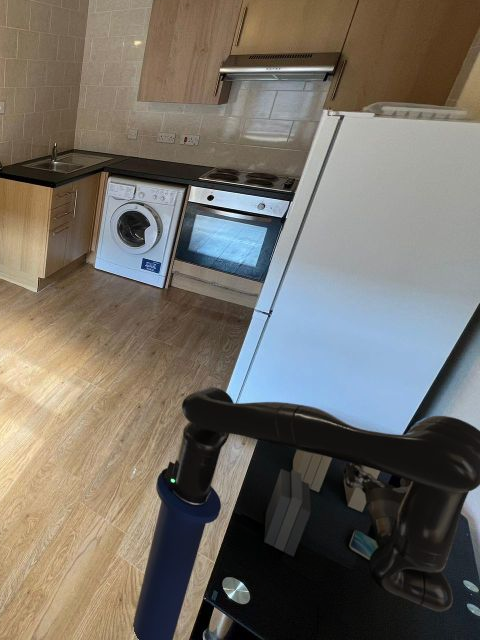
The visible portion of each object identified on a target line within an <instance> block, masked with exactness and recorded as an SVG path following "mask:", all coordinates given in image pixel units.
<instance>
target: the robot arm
mask: <svg viewBox="0 0 480 640" xmlns="http://www.w3.org/2000/svg"><path fill="white" fill-rule="evenodd" d="M181 412H182V414H183V416H184V418H185V419H186V420H187V421H188V423H187V424H186V425H185V426H184V427H183V429H182V433H181V438H180V441H179V446H178V449H177V450H178V451H177V454H176V458H175V460H174V462H172V461H169V462H168V464H167V467H166V468H164V469H162V470H161V472H162V477H163V480H164V481H166V480H169V481H170V485H169V489H168V490H169V491H171V492H172V493H173V494H174V495H175V496H176V497H177V498H178V499H179V500H181V501H182V502H184V503H186V504H188V505H191V506H203V505H205V504H206V502H207V499H208V497H209V495H210V493H209V490H210V487H211V486H212V483H213V479H214V475H215V472H216V469H217V466H218V463H219V462H218V461H219V457H220V454H221V451H222V448H223V447H224V445H225V444H226V443H227V441H228V439H229V437H230V435H237V436H242V437H246V438H249V439H253V440H257V441H261V442H265V443H269V444H274V445H277V446H280V447H285V448H288V449H292V450H296V451H297V450H300V451H304V452H308V453H313V454H318V455H323V456H327V457H331V458H332V459H334V460H335V459H336V460H338V461H341V462H347V463H345V464H344V467H343V469H342V475H343V480H344V479H345V483H346V485H347V486H348V487H349V488H353V486H355V487H357V488H360V489H362V491H363V492H364V493H365V498H366V507H367V515H368V517H369V521H370V524H371V527H372V529H373V533H374V540H375V541H376V543H377V545H378V547H377V548H376V549H375V550H374V552H373V553H372V555H371V557H370V560H368V571H369V574H370V576H371V578H372V580H373V581H374V583H375V584H376V585H377V586H378V587H379V588H381V589H382V590H384V591H386V592H387V593H389V594H392V595H394V596H397V597H400V598H402V599H405V600H406V601H410V602H412V603H414V604H416V605H419V606H421V607H424V608H426V609H429V610H431V611H435V612H446V611H447V610H449V609H450V608H451V607H452V605H453V602H454V601H453V600H454V596H453V591H452V588H451V585H450V583H449V581H448V579H447V577H446V576H445V574H444V573H443V572H442V571H443V570H444V569H445V567H446V565H447V563H448V559H449V556H450V553H451V550H452V547H453V543H454V540H455V537H456V533H457V528H458V525H459V522H460V517H461V514H462V510H463V507H464V504H465V502H466V499H467V497H468V494H469V493H470V492H472V491H473V490H475V489H477V488H478V487H480V430H479V429H478V428H477V427H475V426H474V425H472V424H470V423H468V422H466V421H465V420H461V419H459V418H456V417H453V416H447V415H432V416H431V415H430V416H427V417H424V418H422V419H420V420H418V421H416V422H415V423H414V424H413V425H412V426H411V427H410V429H409V430H408V431H407V432H406V433H405V434H395V433H386V432H379V431H373V430H368V429H363V428H360V427H356V426H353V425H351V424H349V423H347V422H346V421H344V420H342V419H340V418H339V417H337V416H334V415H333V414H331V413H330V412H328V411H325V410H323V409H321V408H318V407H315V406H312V405H311V406H310V405H306V404H300V403H299V404H298V403H292V402H283V401H281V402H280V401H259V402H242V403H241V402H239V403H236V402H234V401H233V398H232V397H231V396H230V394H228V393H227V392H226V391H225V390H224V389H222V388H220V387H216V386H209V387H206V388H203V389H199V390H197V391H194V392H192V393H190V394H188V395H187V396H186V397H184V399H182V403H181ZM350 464H351V465H350ZM362 466H366V467H369V468H372V469H375V470H379V471H380V472H382V473H385V474H388V475H391V476H394V477H396V478H397V477H398V478H400V480H399V484H400V486H399V487H395V485H392V484H389V483H386V482H384V481H381V480H380V479H378V478H377V479H375V478H374V477H373V476H372V475H371V474H370V473H366V472H365V471H364V470H363V469H362ZM165 473H166V474H165ZM359 474H361V476H360V475H359ZM368 479H369V480H370V481H368ZM210 492H211V491H210Z"/></svg>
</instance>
